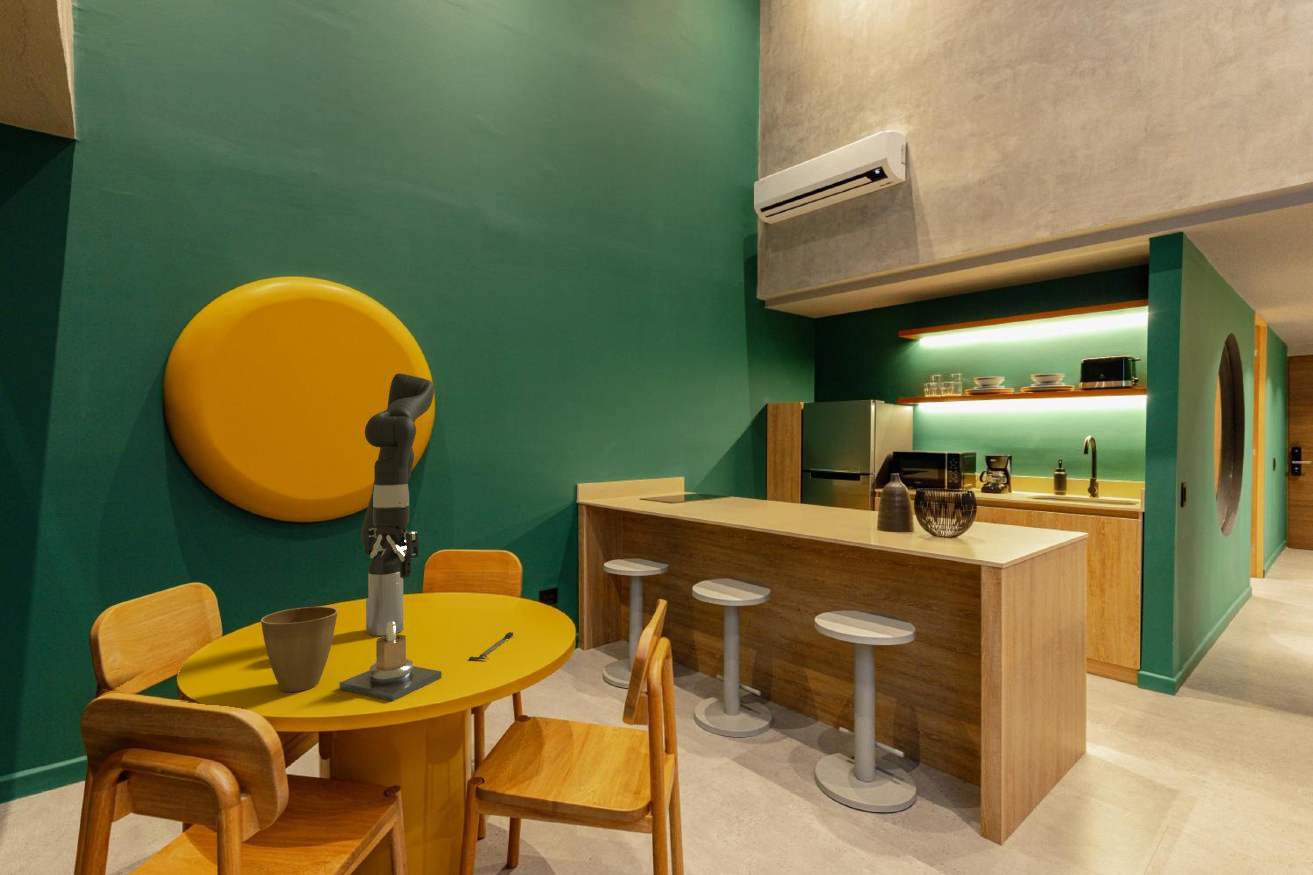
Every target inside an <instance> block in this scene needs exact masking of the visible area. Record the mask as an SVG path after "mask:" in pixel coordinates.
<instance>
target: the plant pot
mask: <svg viewBox="0 0 1313 875" xmlns="http://www.w3.org/2000/svg"><path fill="white" fill-rule="evenodd" d="M338 611H339V610H338V608H335V607H331V606H309V607H307V606H306V607H297V608H290V609H284V610H279V611H276V612H272V613H270V614H267V615H265V616H263V617H262V618H261V619H260V622H261V630H262V634H263V635H262V636H263V640H264V645H265V649H266V650H265V651H266V654H267V659H268V660H269V664H270V667H271V670H272V672H273V675H274V678H275V680H276V683H277V684H278V686H279V688H280V690H281V691H282V692H285V693H295V692H302V691H303V692H304V691H306V690H310V689H312V688H314V687H316V686H317V685H319V682H320V681H321V678H322V676H323V672H324V670H325V668H326V664H327V661H328V658H329V655H330V652H331V647H332V644H333V639H334V636H335V635H334V634H335V629H336V624H337V618H338V613H339V612H338Z"/></svg>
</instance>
